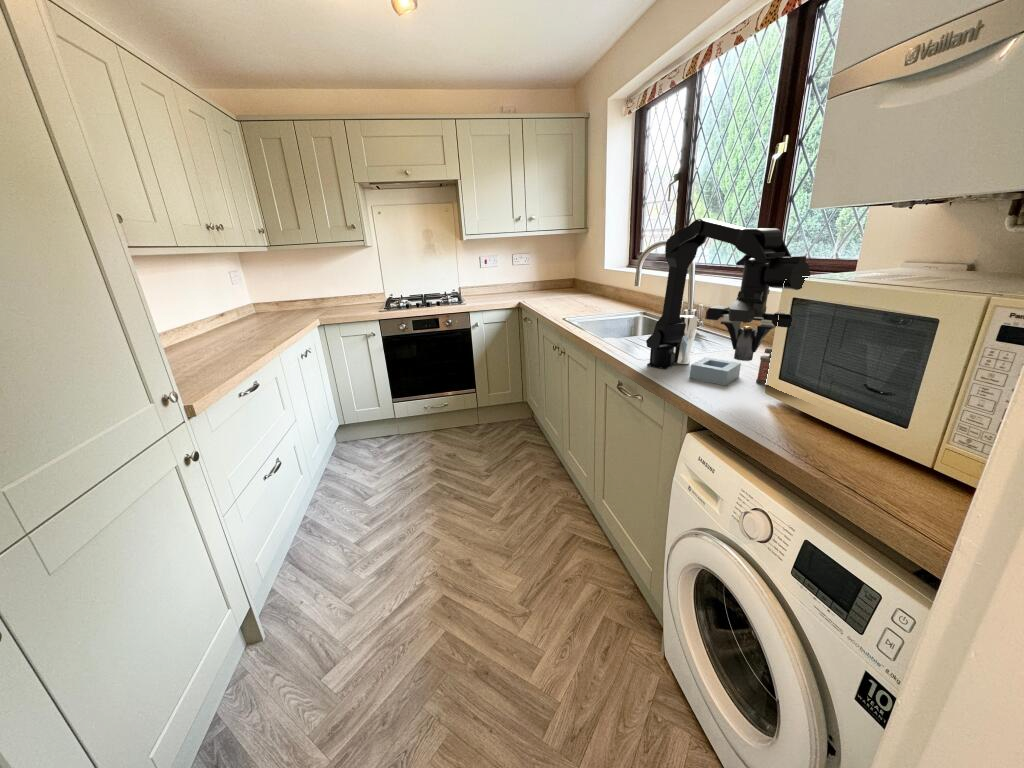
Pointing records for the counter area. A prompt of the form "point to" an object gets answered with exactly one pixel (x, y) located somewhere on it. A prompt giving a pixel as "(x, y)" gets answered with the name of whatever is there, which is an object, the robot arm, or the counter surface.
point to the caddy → (715, 370)
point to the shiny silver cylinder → (686, 340)
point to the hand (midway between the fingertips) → (744, 350)
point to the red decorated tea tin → (764, 367)
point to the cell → (745, 343)
